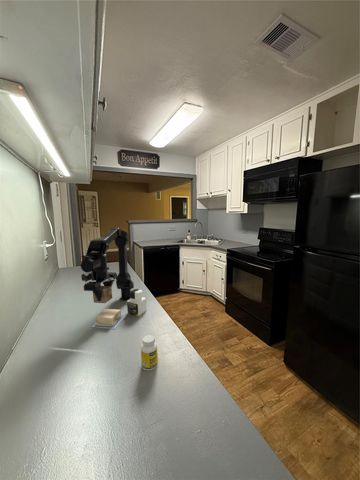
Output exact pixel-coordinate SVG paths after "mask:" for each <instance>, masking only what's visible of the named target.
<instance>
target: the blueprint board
mask: <svg viewBox="0 0 360 480" xmlns="http://www.w3.org/2000/svg"><path fill="white" fill-rule="evenodd" d="M126 317H127V315H125V314H123V315H122V314H121V318H120V319H119V320H118V321H117V323H116V324H115V325H114V326H113V327H111V326H98V325H97V322H96V321H95V322H94V324H92V325H91V326H90V328H92V329H103V330H116V329H117V328H118V326H120V324H121V323H122V322H123V320H125V318H126Z"/></svg>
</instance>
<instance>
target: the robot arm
mask: <svg viewBox="0 0 360 480" xmlns="http://www.w3.org/2000/svg"><path fill="white" fill-rule="evenodd" d="M130 240H131V236H130V234H129V233H128V232H127V231H125V230H122V229H121V228H119V227H112V228H110V230H109V231H108V232H106V233H105V234H104V235H102V236H101V237H97V238H94V239H91V240H90V242H89V243H88V247H87V250H86V254H85V256H84V258H83V259H84V260H82V261H81V264H80V268H81V270H82V271H83V272H84V273H82V274H81V281H83V282H85V284H84V285H83V291H85V292H92V294H93V293H94V294H95V296H96V298H97V300H98V301H101V297H102V291H103V287H101V286H102V285H101V284H103V286H111V288H112V286H113V285H114V282H115V285H116V288H117V290H120V295H121V296H120V297H119V298H118V299H119V300H121V301H122V300H123V301H124V300H125V301H128V300H130V292H131V291H132V290H134V289H135V288H134V286H135V283H134V281H133V280H132V277H131V274H130V273H129V271H128V249H127V248H128V247H129V244H130ZM113 241H114V245H115V246H116V247H117V254H118V274H117V272H111V271H110V272H109V271H108V270H110V266H108V262H107V256H108V255H109V253H108V252H107V251H108V249H109V248H110V244H111V243H112V242H113ZM90 280H91V281H90Z"/></svg>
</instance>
